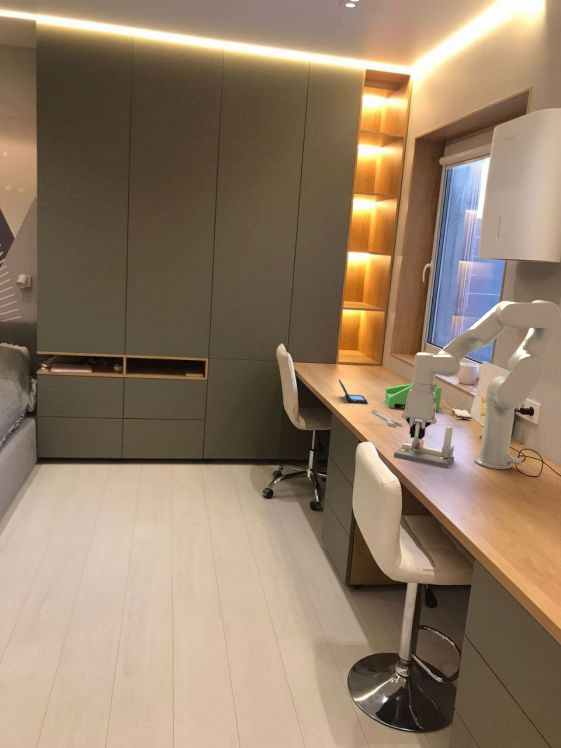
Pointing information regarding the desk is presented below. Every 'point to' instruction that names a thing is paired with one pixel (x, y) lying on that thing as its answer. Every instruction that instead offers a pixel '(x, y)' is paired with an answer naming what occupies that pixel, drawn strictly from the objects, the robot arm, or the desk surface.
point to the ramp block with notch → (405, 395)
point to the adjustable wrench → (387, 419)
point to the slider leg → (417, 436)
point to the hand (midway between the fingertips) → (416, 437)
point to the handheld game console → (354, 396)
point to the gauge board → (422, 457)
